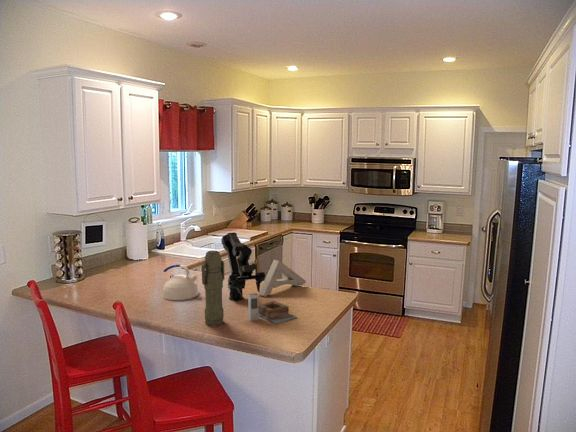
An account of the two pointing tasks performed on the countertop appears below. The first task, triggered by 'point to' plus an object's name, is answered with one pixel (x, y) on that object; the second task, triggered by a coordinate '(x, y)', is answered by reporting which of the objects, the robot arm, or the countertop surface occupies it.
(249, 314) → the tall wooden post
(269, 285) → the wall bracket
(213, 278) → the olive cylinder
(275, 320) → the slotted post block
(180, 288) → the kettle
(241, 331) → the countertop surface
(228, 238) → the robot arm
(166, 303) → the countertop surface
